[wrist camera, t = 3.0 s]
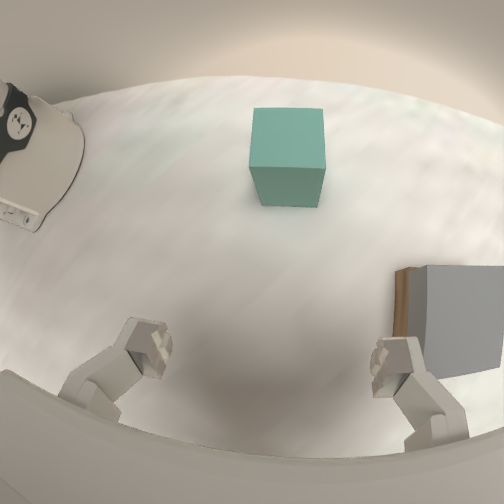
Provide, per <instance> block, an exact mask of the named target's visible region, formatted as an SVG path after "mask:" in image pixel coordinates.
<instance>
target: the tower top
mask: <svg viewBox="0 0 504 504" xmlns="http://www.w3.org/2000/svg"><path fill="white" fill-rule="evenodd" d="M414 336H415V337H417V338H418V341H419V344H420V348H421V352H422V356H423V360H424V364H425V368H426V372H431V374H432V375H433V376H434V377H435V378H436V379H443V378H449V377H455V376H461V375H466V374H471V373H476V372H481V371H485V370H490V369H494V368H498V367H500V362H501V354H502V346H503V336H504V266H448V265H426V266H423V267H420V268H417V269H413V270H410V271H409V300H408V324H407V337H414Z"/></svg>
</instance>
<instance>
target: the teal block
mask: <svg viewBox="0 0 504 504" xmlns="http://www.w3.org/2000/svg"><path fill="white" fill-rule="evenodd" d="M249 169H250V171H251V174H252V177H253V180H254V183H255V186H256V189H257V192H258V195H259V198H260V200H261V203H262V206H292V207H316V208H317V206H318V202H319V197H320V193H321V188H322V184H323V179H324V174H325V170H326V163H325V139H324V121H323V109H314V108H254V113H253V124H252V136H251V147H250V159H249Z"/></svg>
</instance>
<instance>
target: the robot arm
mask: <svg viewBox="0 0 504 504" xmlns="http://www.w3.org/2000/svg"><path fill="white" fill-rule="evenodd" d="M83 149H84V136H83V132H82V130H81V128H80V127H79V126H78V125H76V124H75V123H74V122H73V116H72V114H71V113H70V112H69V111H67V110H65V111H63V112H60V111H58V110H57V109H55V108H54V107H52V106H51V105H49V104H48V103H46V102H44V101H43V100H41V99H40V98H38V97H36V96H32V97H29V98H28V97H27V95H25V94H24V93H23V92H22V91H21V90H20V88H18V87H16V86H14V85H13V84H11V83H4V82H3V81H2V80H0V219H2V220H5V221H7V222H9V223H12V224H14V225H17V226H19V227H21V228H24V229H26V230H29V231H31V232H35V231H36V230H37V229H38V228H39V226H40V224H41V223H42V221H43V219H44V217H45V215H46V214H47V213H48V212H49V211H50V210H51V209H52V208H53V207H54V206H55V205H56V204H57V203H58V201H59V200H60V199H61V198H62V197H63V195H64V194H65V192H66V191H67V189H68V188H69V186H70V184H71V183H72V181H73V179H74V177H75V175H76V173H77V170H78V168H79V165H80V162H81V159H82V155H83ZM167 329H168V328H167V326H166V324H165V323H162V322H156V321H151V320H145V319H140V318H135V317H131V318H129V319H128V320H127V322H126V324H125V326H124V328H123V329H122V331H121V333H120V335H119V337H118V338H117V340H116V342H115V344H114V346H113V347H112V346H110V347H108V348H107V349H105V350H104V351H102V352H101V353H99V354H98V355H96V356H95V357H93V358H91V359H90V360H88V361H87V362H85V363H84V364H82V365H81V366H79V367H78V368H76V369H75V370H73V371H72V372H70V374H69V376H68V377H67V379H66V381H65V383H64V385H63V387H62V389H61V391H60V392H59V394H58V396H55V395H53V394H51V393H49V392H47V391H46V390H44V389H42V388H40V387H38V386H36V385H35V384H33V383H31V382H29V381H28V380H26V379H24V378H23V377H21V376H19V375H18V374H16V373H14V372H13V371H11V370H7V369H6V370H3V371H1V372H0V504H504V427H502V428H499V429H496V430H493V431H491V432H488V433H485V434H481V435H478V436H475V437H472V438H470V437H469V431H468V425H467V420H466V415H465V410H464V408H463V407H462V406H461V405H460V403H459V402H458V401H457V400H456V399H455V398H454V397H453V396H452V395H451V394H450V393H449V392H448V390H447V389H446V388H445V387H444V386H443V385H442V384H441V383H440V382H439V381H438V380H437V379H436V378H435V377H434V376H433V375H432V374H431V372H426V368H425V364H424V360H423V356H422V352H421V348H420V344H419V341H418V338H417V337H415V336H414V337H380V338H379V339H378V341H377V348H376V349H375V350H373V353H372V355H371V361H370V370H371V374H372V375H373V376H374V377H375V378H374V380H373V382H372V390H373V398H380V397H393V399H394V400H395V402H396V403H397V405H398V406H399V408H400V409H401V410H402V412H403V413H404V415H405V416H406V418H407V419H408V421H409V422H410V424H411V425H412V427H413V428H414V430H415V432H413V433H412V434H411V435H410V436H409V437H407V438H406V440H405V441H404V444H405V452H403V453H396V454H388V455H379V456H368V457H353V458H290V457H275V456H264V455H255V454H246V453H239V452H232V451H226V450H220V449H214V448H209V447H204V446H199V445H194V444H190V443H185V442H181V441H177V440H173V439H169V438H165V437H162V436H158V435H155V434H151V433H148V432H145V431H141V430H138V429H135V428H132V427H129V426H126V425H123V424H121V423H118V420H119V417H120V414H121V411H120V409H119V408H118V407H117V406H116V405H115V404H114V403H113V402H115V401H116V400H117V399H118V398H119V397H120V396H121V395H123V394H124V393H125V392H126V391H127V390H128V389H129V388H130V387H132V386H133V385H134V384H135V383H136V382H137V381H138V380H140V379H141V378H142V377H143V376H142V375H144V376H148V377H153V378H158V379H161V378H162V375H163V372H164V370H165V367H166V364H165V360H166V359H168V358H169V357H170V355H171V352H172V345H173V344H172V338H171V336H170V335H169V334H168V333H167V332H166V331H167Z"/></svg>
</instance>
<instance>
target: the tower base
mask: <svg viewBox="0 0 504 504" xmlns="http://www.w3.org/2000/svg"><path fill="white" fill-rule="evenodd" d="M413 269H417V268H416V267H408V268H405V269H402V270H399V271H396V272H395V308H394V324H393V337H407V324H408V300H409V271H410V270H413Z"/></svg>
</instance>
